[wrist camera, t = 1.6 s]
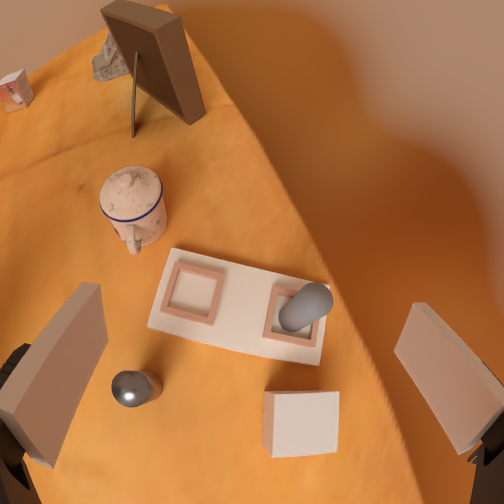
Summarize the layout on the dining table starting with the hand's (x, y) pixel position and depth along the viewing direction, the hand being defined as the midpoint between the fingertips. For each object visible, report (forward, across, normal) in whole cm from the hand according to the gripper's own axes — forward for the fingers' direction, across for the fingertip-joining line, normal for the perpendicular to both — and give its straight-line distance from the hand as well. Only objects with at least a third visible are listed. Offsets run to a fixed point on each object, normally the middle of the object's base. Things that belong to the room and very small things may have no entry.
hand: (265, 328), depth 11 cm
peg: (+18, -10, -24) cm, 32 cm away
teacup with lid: (+34, -15, -8) cm, 38 cm away
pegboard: (+26, +2, -16) cm, 31 cm away
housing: (+15, +9, -27) cm, 32 cm away
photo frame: (+55, -21, +13) cm, 60 cm away
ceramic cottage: (+71, -36, +28) cm, 84 cm away
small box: (+60, -63, +18) cm, 89 cm away
